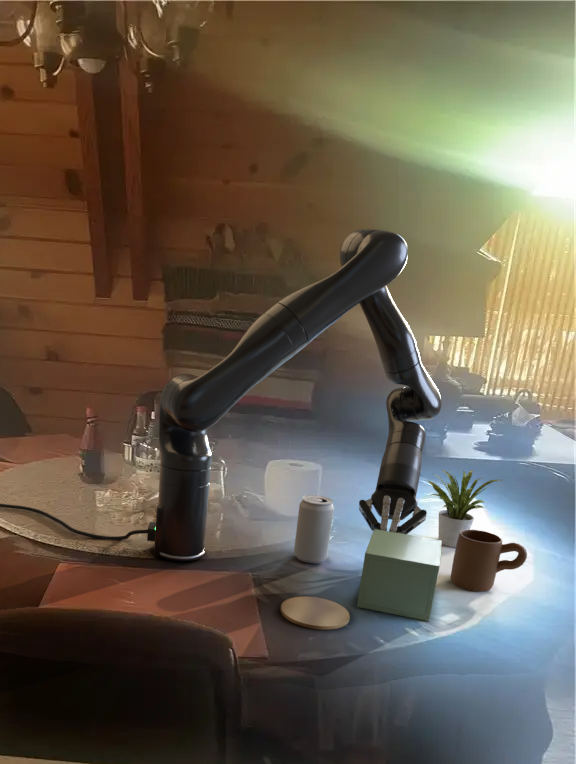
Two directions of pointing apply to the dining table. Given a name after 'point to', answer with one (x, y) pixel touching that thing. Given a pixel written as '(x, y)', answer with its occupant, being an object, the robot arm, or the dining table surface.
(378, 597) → the cabinet
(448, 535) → the house plant
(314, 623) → the coaster
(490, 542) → the mug
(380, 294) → the robot arm
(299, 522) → the beverage can
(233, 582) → the dining table surface
